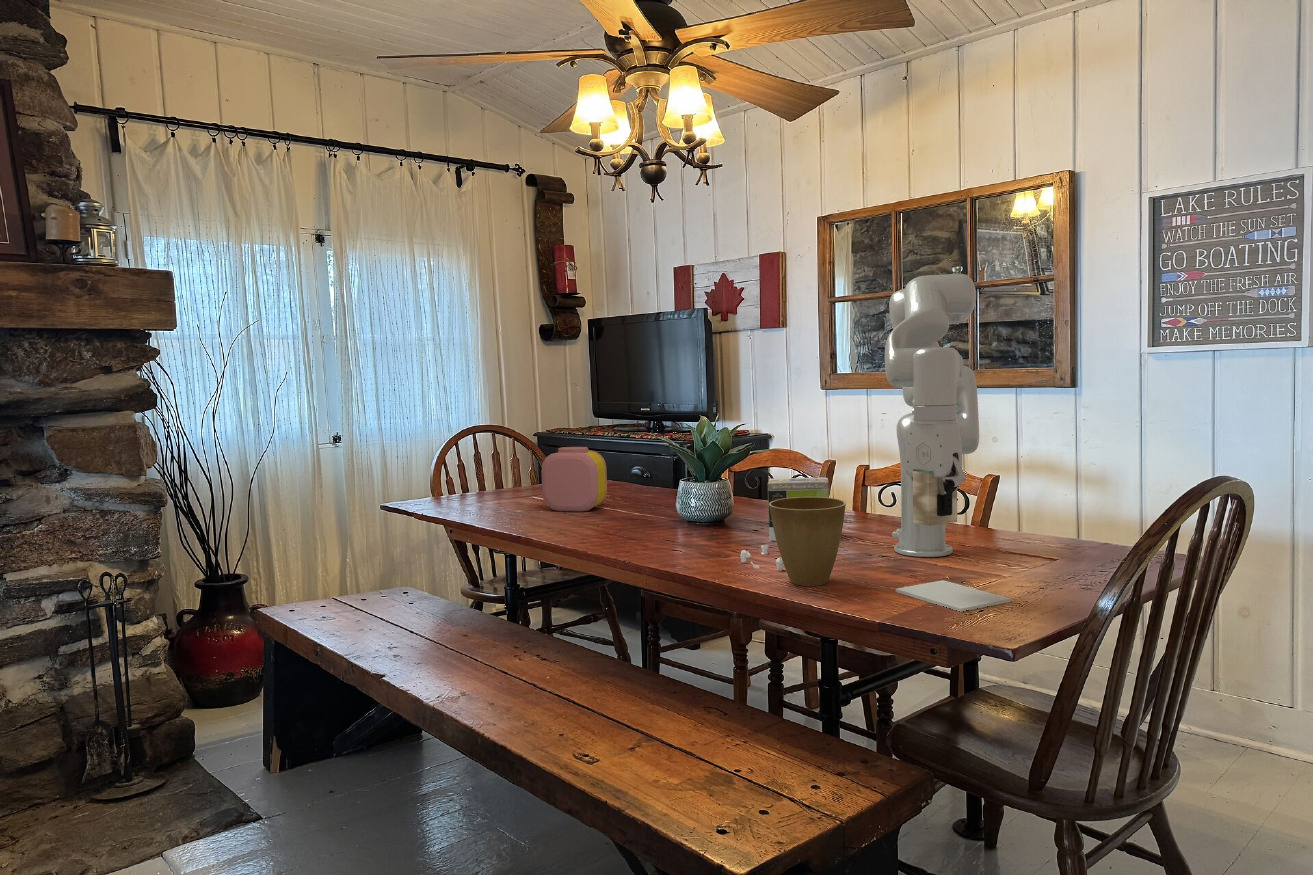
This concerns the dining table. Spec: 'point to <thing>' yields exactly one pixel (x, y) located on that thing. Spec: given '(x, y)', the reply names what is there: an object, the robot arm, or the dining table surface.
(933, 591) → the rubber mat
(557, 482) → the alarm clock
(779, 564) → the game piece set
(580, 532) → the dining table surface
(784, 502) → the plant pot
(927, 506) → the beige and green box
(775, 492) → the tea box
